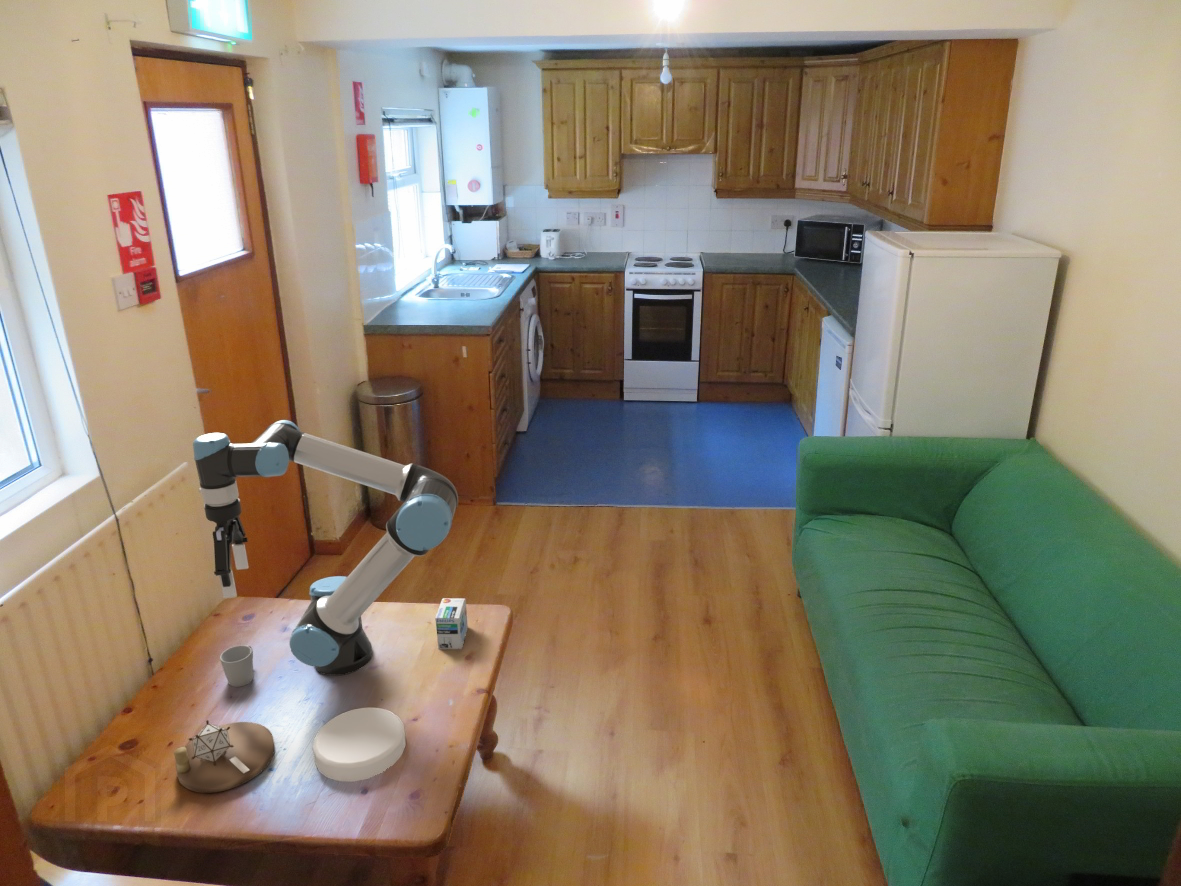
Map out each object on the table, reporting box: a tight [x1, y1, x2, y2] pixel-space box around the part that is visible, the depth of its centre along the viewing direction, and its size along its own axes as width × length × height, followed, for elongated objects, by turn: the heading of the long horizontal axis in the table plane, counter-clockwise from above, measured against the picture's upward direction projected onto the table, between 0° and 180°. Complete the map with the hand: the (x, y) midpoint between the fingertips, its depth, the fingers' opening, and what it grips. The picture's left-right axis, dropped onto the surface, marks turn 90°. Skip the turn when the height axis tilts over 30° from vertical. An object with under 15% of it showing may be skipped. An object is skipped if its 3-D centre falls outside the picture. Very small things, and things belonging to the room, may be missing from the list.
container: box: [312, 707, 406, 783], centre depth 184 cm, size 20×20×5 cm
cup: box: [219, 644, 254, 688], centre depth 209 cm, size 8×10×8 cm
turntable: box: [173, 721, 276, 794], centre depth 181 cm, size 20×20×7 cm
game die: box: [188, 719, 234, 766], centre depth 178 cm, size 9×8×10 cm
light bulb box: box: [434, 597, 469, 650], centre depth 223 cm, size 11×7×11 cm, turn 179°
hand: (236, 582), depth 194 cm, fingers open, 13 cm apart
